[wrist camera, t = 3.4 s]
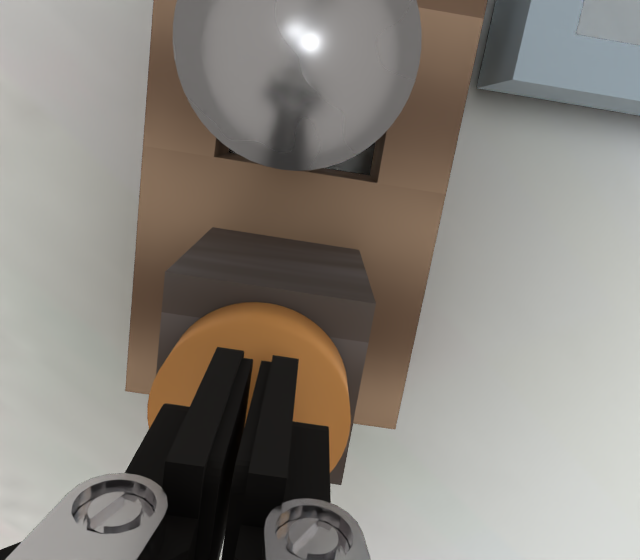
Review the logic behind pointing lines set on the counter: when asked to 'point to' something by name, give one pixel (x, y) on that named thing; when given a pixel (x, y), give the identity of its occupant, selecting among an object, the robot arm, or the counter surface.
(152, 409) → the release button
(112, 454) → the counter surface
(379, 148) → the socket block
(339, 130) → the grey smooth thick cylinder
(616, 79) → the blue-grey square frame
